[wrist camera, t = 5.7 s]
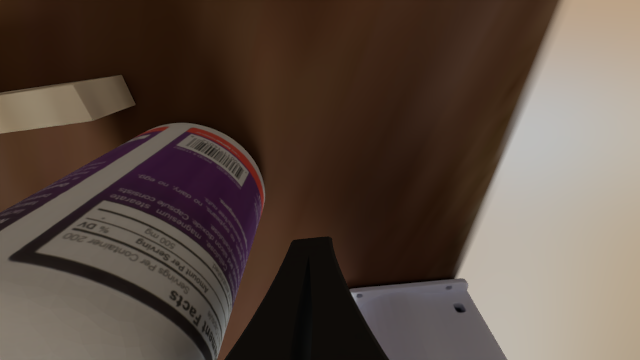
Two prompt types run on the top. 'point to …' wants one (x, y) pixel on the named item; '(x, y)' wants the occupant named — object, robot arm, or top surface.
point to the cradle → (63, 103)
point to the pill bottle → (131, 252)
